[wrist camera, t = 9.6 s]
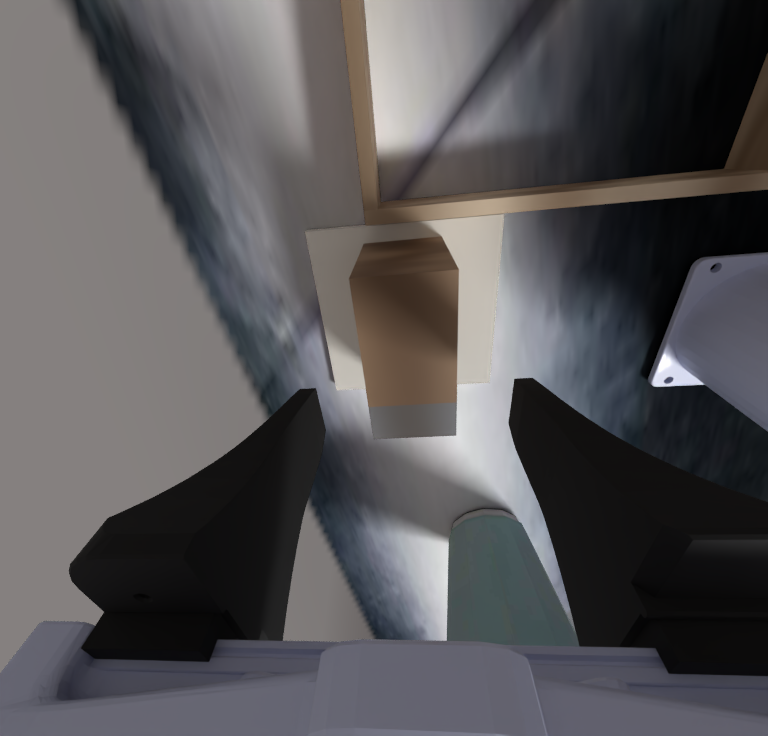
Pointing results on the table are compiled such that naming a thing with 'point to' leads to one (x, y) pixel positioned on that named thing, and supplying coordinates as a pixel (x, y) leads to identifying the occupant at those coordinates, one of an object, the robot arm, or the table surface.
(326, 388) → the table surface
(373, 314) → the block
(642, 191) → the frame
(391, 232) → the pad
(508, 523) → the disposable coffee cup
